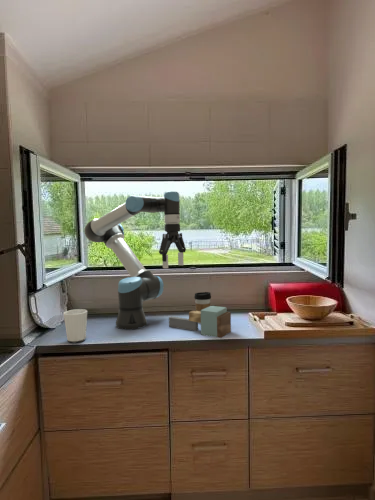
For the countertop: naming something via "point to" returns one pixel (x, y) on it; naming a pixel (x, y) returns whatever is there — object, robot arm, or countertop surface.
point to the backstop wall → (223, 324)
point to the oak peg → (195, 316)
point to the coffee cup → (202, 300)
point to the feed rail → (182, 323)
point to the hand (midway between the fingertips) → (173, 266)
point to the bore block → (210, 320)
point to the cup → (76, 325)
